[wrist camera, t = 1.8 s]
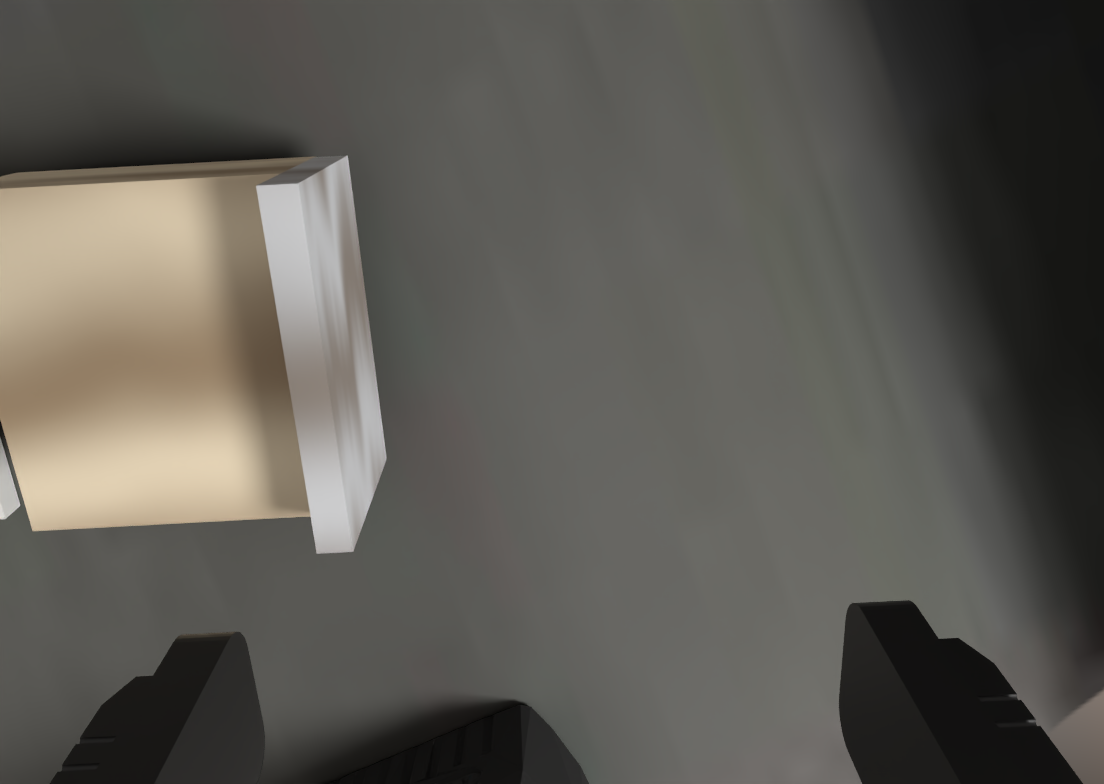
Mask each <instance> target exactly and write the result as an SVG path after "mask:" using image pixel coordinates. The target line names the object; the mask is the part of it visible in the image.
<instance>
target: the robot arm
mask: <svg viewBox="0 0 1104 784" xmlns="http://www.w3.org/2000/svg"><path fill="white" fill-rule="evenodd" d="M839 712H840V721H841V727H842V732H843V737H844V740H845V744H846V747H847V749H848V752H849V754H850V757H851V759H852V761H853V763H854V766H855V768H856V770H857V772H858V775H859V777H860V779H861V782H862V784H1083V783H1082V782H1081V780H1080V779H1079V778H1078V776H1077V775H1076V774H1075V772H1074V771H1073V770H1072V768H1071V767H1070V766H1069V764H1068V763H1067V761H1066V760H1065V759H1064V757H1063V756H1062V755H1061V753H1060V752H1059V751H1058V749H1057V748H1056V747H1055V745H1054V744H1053V743H1052V741H1051V740H1050V738H1049V737H1048V736H1047V734H1046V733H1045V732H1044V730H1043V729H1042V728H1041V726H1037V725H1036V721H1035V720H1036V719H1035V718H1034V717H1033V715H1032V714H1031V713H1030V711H1029V710H1028V709H1027V707H1026V706H1025V705H1024V703H1023V702H1022V700H1018V699H1017V694H1016V692H1015V691H1014V690H1013V688H1012V687H1011V686H1010V684H1009V683H1008V682H1007V680H1006V679H1005V677H1004V676H1003V675H1002V673H1001V672H1000V671H999V669H998V668H997V667H996V665H995V664H994V663H993V662H991V661H990V660H989V659H987V658H986V657H984V656H983V655H982V654H980V653H979V652H977V651H976V650H975V649H973V648H972V647H970V646H969V645H967V644H966V643H965V642H963V641H962V640H960V639H959V638H949V639H938V637H937V636H936V634H935V633H934V631H933V630H932V628H931V627H930V625H929V624H928V622H927V621H926V619H925V618H924V616H923V615H922V614H921V612H920V611H919V609H918V608H917V606H916V605H915V604H914V603H913V602H912V601H909V600H908V601H887V602H867V603H852V604H850V606H849V607H848V610H847V614H846V622H845V634H844V646H843V658H842V670H841V682H840V694H839ZM264 747H265V734H264V725H263V720H262V715H261V710H260V705H259V700H258V695H257V690H256V685H255V680H254V676H253V671H252V666H251V661H250V656H249V651H248V647H247V643H246V640H245V638H244V636H243V635H242V634H241V633H240V632H226V633H206V634H185V635H180V636H179V637H177V638H176V640H175V641H174V642H173V644H172V646H171V647H170V649H169V650H168V652H167V654H166V655H165V657H164V659H163V660H162V662H161V664H160V665H159V667H158V669H157V670H156V672H155V673H154V675H153V676H140V677H135V678H134V679H133V680H132V681H130V682H129V683H128V684H127V685H126V686H124V687H123V688H122V689H121V690H119V691H118V692H117V693H116V694H115V695H113V696H112V697H111V698H110V699H109V700H107V701H106V702H105V703H104V704H103V705H101V707H100V708H99V710H98V711H97V713H96V714H95V716H94V718H93V719H92V721H91V722H90V724H89V725H88V727H87V728H86V730H85V731H84V733H83V734H82V736H81V737H80V744H76V745H75V746H74V748H73V749H72V751H71V752H70V754H69V755H68V757H67V758H66V760H65V761H64V763H63V765H62V766H63V768H62V771H61V772H57V774H56V775H55V777H54V778H53V780H52V781H51V783H50V784H257V782H258V779H259V776H260V773H261V769H262V764H263V758H264Z"/></svg>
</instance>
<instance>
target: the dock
mask: <svg viewBox="0 0 1104 784" xmlns="http://www.w3.org/2000/svg"><path fill="white" fill-rule="evenodd" d="M19 506H20V503H19V499H18V496H17V492H16V489H15V486H14V482H13V479H12V475H11V472H10V469H9V465H8V462H7V458H6V455H5V452H4V448H3V445H2V441H1V438H0V519H6V518H7V517H8V516H9V515H10V514H12V513H13V512H14V511H15V510H16V509H17V508H18V507H19Z"/></svg>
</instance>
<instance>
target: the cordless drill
mask: <svg viewBox="0 0 1104 784" xmlns="http://www.w3.org/2000/svg"><path fill="white" fill-rule="evenodd" d="M329 784H589V783H588V781H587V779H586V777H585V775H584V773H583V770H582V768H581V766H580V765H579V764H578V762H577V761H576V760H575V758H574V757H573V756H572V754H571V753H570V752H569V750H568V749H567V748H566V746H565V745H564V744H563V742H562V741H561V740H560V738H559V737H558V736H557V734H556V733H555V732H554V730H553V729H552V728H551V727H550V726H549V725H548V724H547V723H546V722H545V721H544V720H543V719H542V718H541V717H540V716H539V715H538V714H537V713H536V712H535V711H534V710H533V709H532V708H531V707H529V706H525V705H521V704H520V705H518V706H515V707H513V708H510V709H507V710H505V711H502V712H499V713H497V714H495V715H493V716H491V717H487V718H484V719H481V720H479V721H476V722H474V723H471V724H469V725H468V726H467V727H464V728H460V729H457V730H455V731H452V732H450V733H448V734H445V735H443V736H441V737H438V738H436V739H433V740H431V741H429V742H427V743H424V744H422V745H420V746H418V747H415V748H412V749H409V750H406V751H404V752H402V753H400V754H398V755H396V756H394V757H391V758H388V759H386V760H383V761H380V762H378V763H376V764H374V765H371V766H369V767H367V768H364V769H362V770H359V771H356V772H354V773H352V774H350V775H348V776H345V777H343V778H341V779H340V780H338V781H335V782H331V783H329Z"/></svg>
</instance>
